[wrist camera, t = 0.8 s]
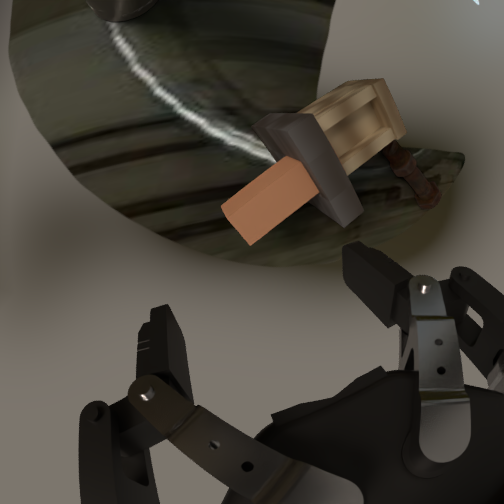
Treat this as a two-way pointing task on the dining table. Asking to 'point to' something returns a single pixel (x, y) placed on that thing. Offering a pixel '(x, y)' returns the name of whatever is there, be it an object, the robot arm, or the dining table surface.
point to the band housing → (335, 140)
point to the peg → (270, 199)
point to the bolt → (412, 175)
